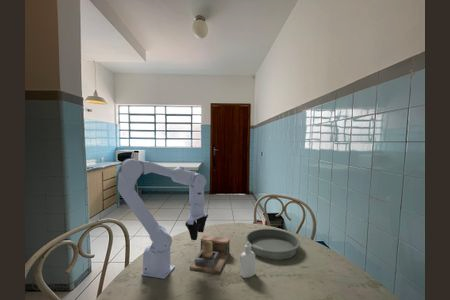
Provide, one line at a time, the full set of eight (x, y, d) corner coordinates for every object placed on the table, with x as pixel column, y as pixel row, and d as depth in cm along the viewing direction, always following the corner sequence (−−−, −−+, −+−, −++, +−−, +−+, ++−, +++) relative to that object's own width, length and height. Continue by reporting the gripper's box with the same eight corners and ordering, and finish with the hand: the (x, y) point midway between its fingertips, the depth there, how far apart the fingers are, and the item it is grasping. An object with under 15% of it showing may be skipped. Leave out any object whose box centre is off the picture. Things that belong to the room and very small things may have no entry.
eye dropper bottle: (239, 271, 80) (239, 239, 80) (254, 271, 80) (254, 239, 79) (240, 278, 75) (240, 244, 75) (256, 278, 75) (256, 244, 75)
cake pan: (254, 233, 115) (254, 225, 115) (302, 242, 105) (302, 233, 105) (237, 254, 93) (237, 243, 93) (296, 268, 82) (296, 256, 82)
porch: (189, 269, 81) (189, 252, 81) (203, 249, 96) (203, 235, 96) (219, 273, 78) (219, 256, 78) (229, 253, 94) (229, 238, 93)
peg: (201, 262, 84) (201, 244, 84) (204, 257, 88) (204, 240, 88) (210, 263, 83) (210, 245, 83) (213, 258, 87) (213, 241, 87)
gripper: (199, 208, 78) (200, 244, 79) (211, 198, 93) (212, 229, 93) (182, 207, 80) (183, 242, 80) (196, 198, 94) (197, 228, 94)
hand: (197, 235), depth 87 cm, fingers open, 7 cm apart
